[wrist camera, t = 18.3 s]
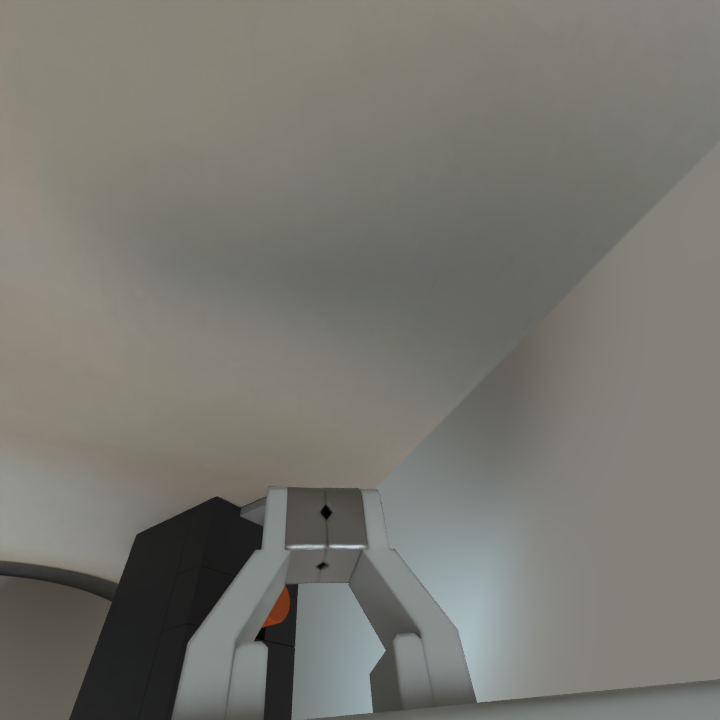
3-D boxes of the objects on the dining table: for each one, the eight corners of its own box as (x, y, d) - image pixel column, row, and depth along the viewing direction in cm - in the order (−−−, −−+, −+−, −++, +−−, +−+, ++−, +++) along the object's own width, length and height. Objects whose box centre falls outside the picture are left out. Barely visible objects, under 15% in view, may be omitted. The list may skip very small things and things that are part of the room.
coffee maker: (247, 481, 34) (165, 969, 17) (329, 526, 41) (331, 903, 24) (136, 534, 40) (-15, 945, 22) (225, 566, 46) (164, 896, 29)
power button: (266, 574, 32) (261, 618, 30) (291, 583, 34) (288, 626, 32) (240, 583, 33) (234, 627, 31) (266, 592, 35) (262, 633, 33)
